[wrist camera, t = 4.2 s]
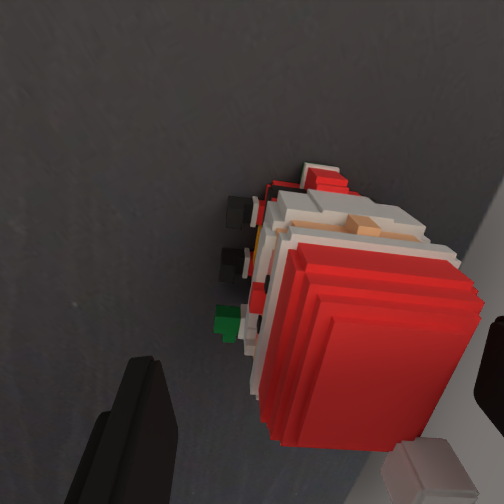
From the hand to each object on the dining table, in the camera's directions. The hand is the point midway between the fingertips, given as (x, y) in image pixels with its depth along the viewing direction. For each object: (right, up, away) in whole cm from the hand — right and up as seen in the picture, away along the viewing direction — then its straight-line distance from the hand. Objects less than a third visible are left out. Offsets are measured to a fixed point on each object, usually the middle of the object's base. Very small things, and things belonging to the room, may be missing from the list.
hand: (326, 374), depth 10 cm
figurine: (0, +4, +9) cm, 10 cm away
